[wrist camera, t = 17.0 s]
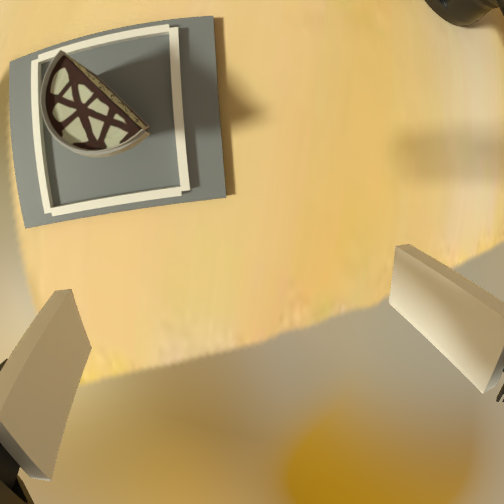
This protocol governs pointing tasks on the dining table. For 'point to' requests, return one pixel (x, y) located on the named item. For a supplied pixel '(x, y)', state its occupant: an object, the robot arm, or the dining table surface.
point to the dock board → (144, 104)
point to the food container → (87, 111)
